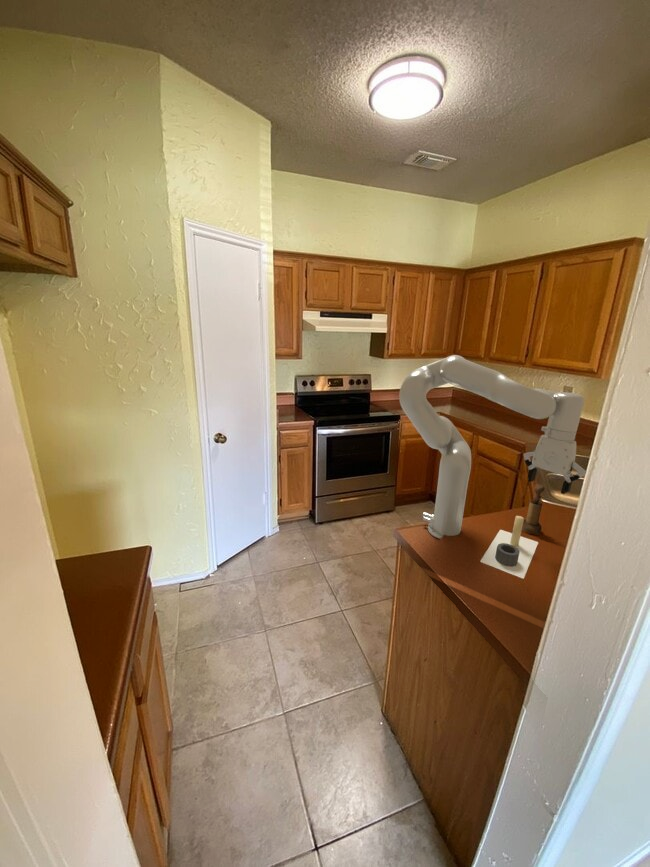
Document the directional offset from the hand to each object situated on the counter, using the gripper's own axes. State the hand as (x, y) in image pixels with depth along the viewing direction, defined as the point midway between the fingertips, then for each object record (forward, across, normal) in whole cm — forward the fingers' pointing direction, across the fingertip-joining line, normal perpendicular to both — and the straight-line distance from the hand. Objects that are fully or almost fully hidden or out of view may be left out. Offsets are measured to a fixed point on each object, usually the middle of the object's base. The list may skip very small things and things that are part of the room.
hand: (547, 486), depth 112 cm
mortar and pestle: (+23, -6, +13) cm, 27 cm away
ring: (+22, -1, -15) cm, 26 cm away
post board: (+23, -3, -9) cm, 25 cm away
